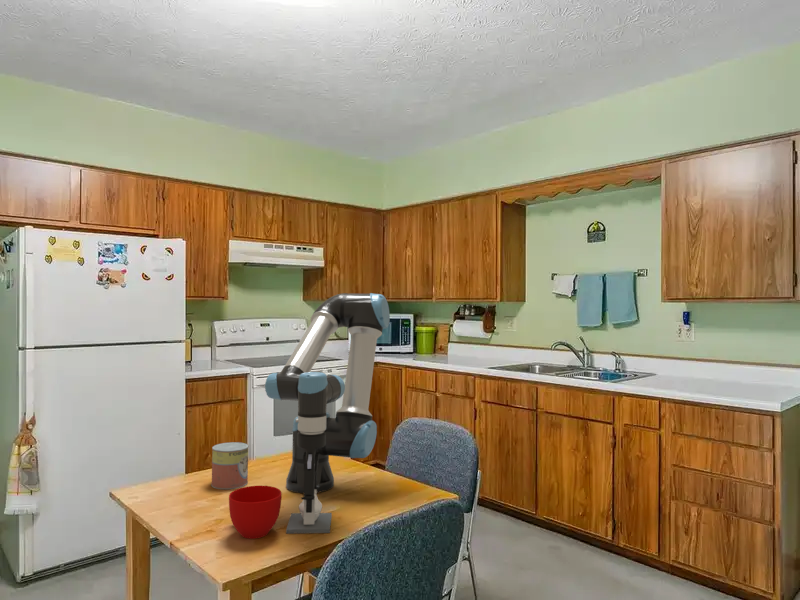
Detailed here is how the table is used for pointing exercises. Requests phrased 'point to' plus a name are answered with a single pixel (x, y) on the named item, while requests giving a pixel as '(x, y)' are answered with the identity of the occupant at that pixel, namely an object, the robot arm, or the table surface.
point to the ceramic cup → (254, 510)
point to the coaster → (319, 525)
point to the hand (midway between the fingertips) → (310, 518)
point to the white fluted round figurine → (317, 508)
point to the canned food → (229, 465)
